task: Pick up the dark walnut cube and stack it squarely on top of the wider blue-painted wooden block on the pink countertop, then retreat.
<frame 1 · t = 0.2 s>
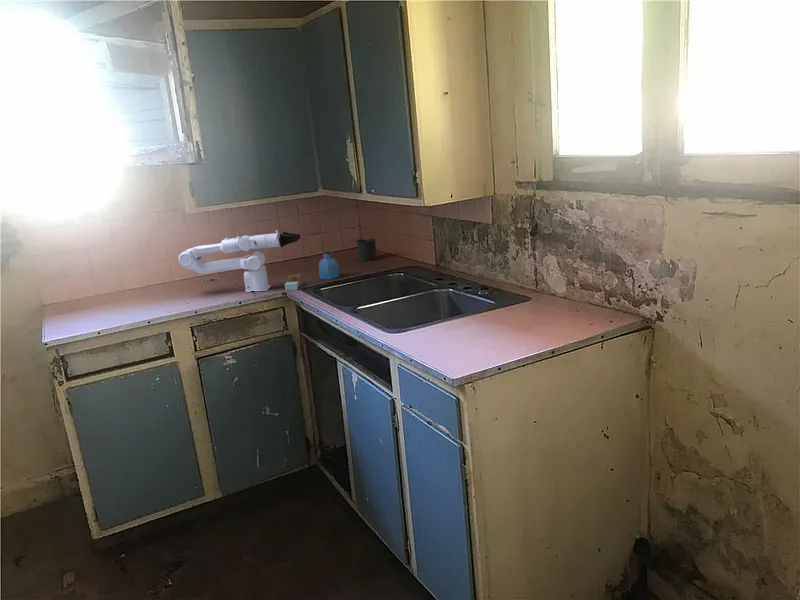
hand: (298, 237, 277), 21 cm above the worktop, tool horizontal, fingers open, 7 cm apart
pen holder: (367, 259, 327), on the worktop
blue block: (292, 289, 278), on the worktop
walnut cube: (295, 286, 284), on the worktop
perfume bottle: (329, 277, 295), on the worktop
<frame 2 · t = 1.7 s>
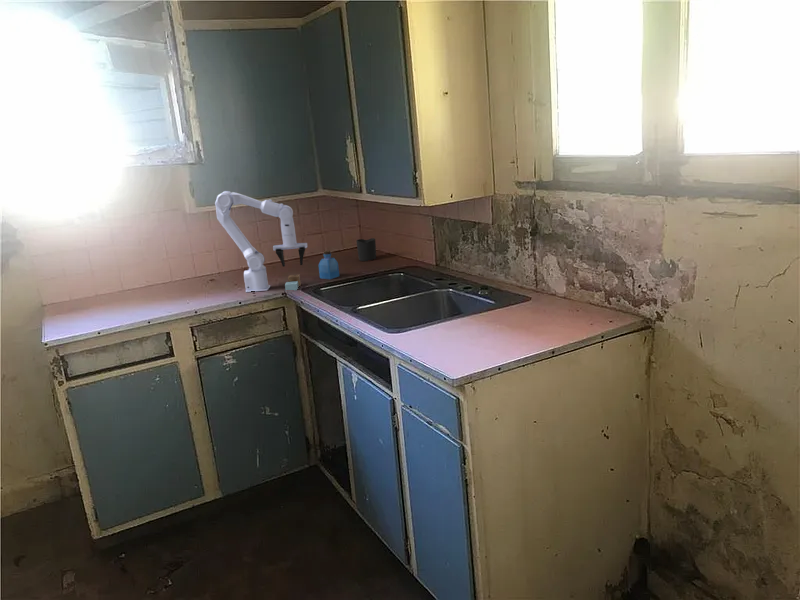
hand: (292, 265, 281), 9 cm above the worktop, tool pointing down, fingers open, 7 cm apart
nothing on the worktop moved.
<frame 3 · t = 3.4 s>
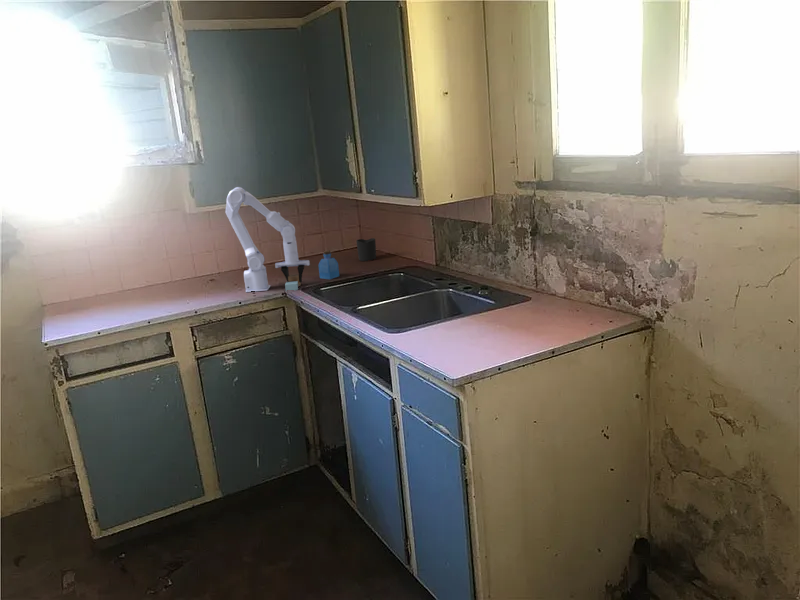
hand: (294, 282, 283), 1 cm above the worktop, tool pointing down, fingers closed on walnut cube, 4 cm apart
walnut cube: (295, 285, 284), on the worktop, touching gripper
everything else where it was.
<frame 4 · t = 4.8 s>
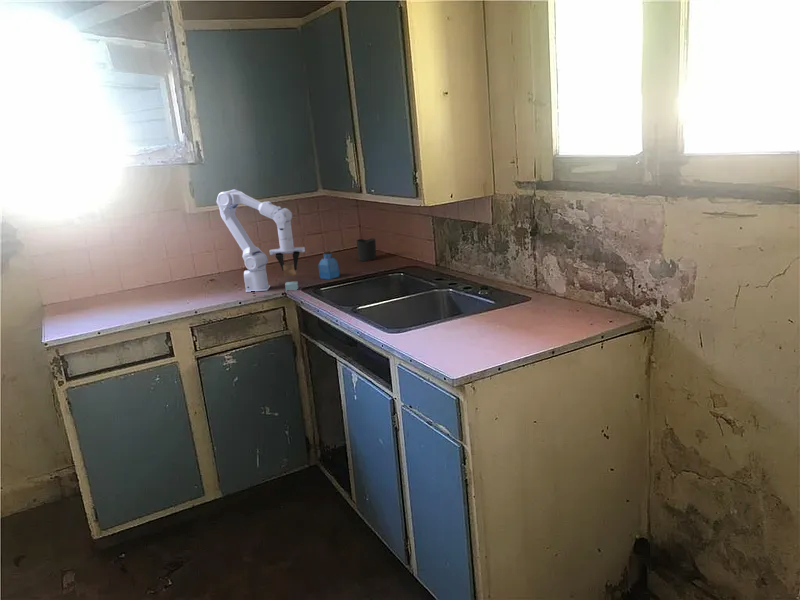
hand: (289, 270, 276), 8 cm above the worktop, tool pointing down, fingers closed on walnut cube, 4 cm apart
walnut cube: (290, 274, 277), point 6 cm above the worktop, touching gripper
everything else where it was.
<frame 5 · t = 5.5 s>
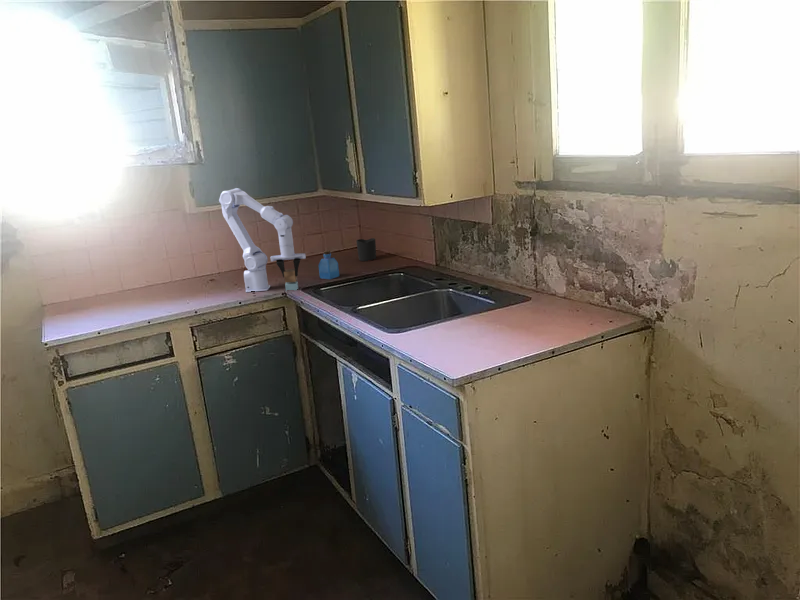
hand: (290, 276, 277), 6 cm above the worktop, tool pointing down, fingers closed on walnut cube, 4 cm apart
walnut cube: (291, 280, 277), point 4 cm above the worktop, touching gripper
everything else where it was.
when the fingers open (6 cm above the worktop, at t = 6.1 s): walnut cube stays where it is, point 3 cm above the worktop.
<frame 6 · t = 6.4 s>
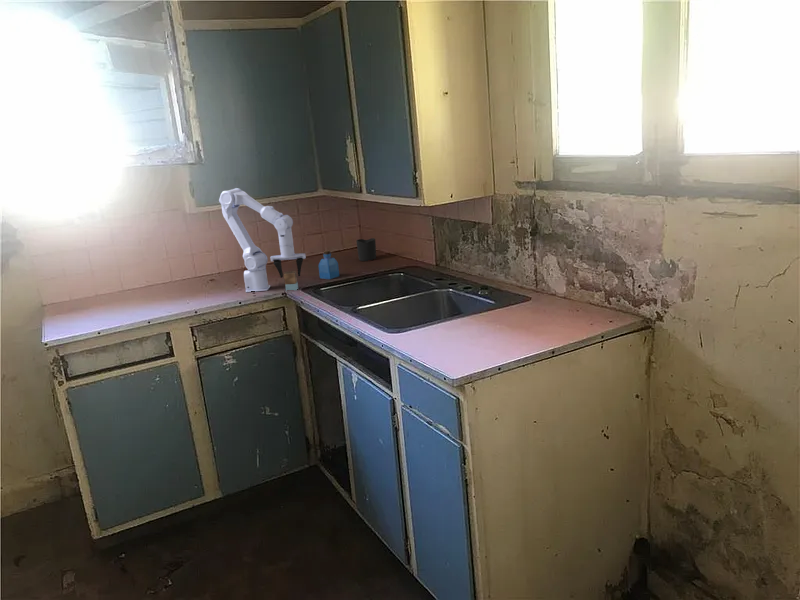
hand: (290, 276, 277), 6 cm above the worktop, tool pointing down, fingers open, 7 cm apart
walnut cube: (291, 282, 277), point 3 cm above the worktop
everything else where it was.
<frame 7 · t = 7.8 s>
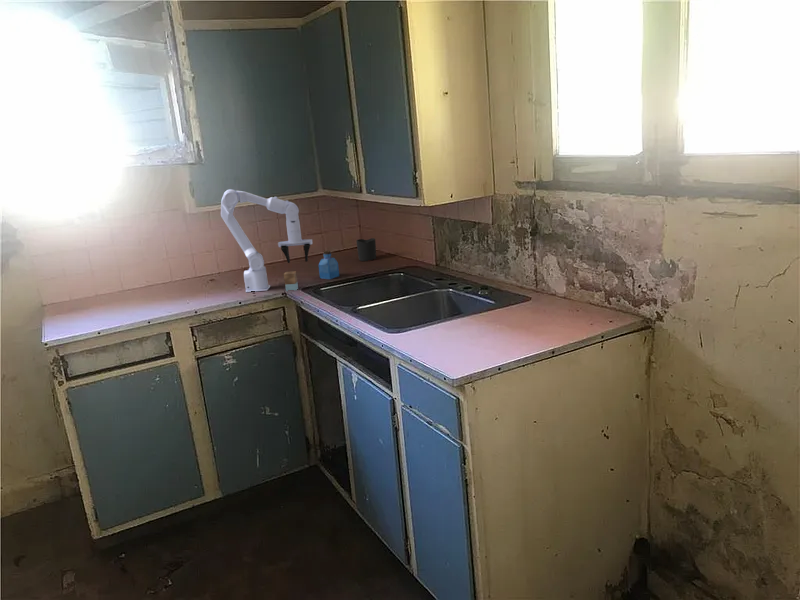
hand: (297, 261, 284), 10 cm above the worktop, tool pointing down, fingers open, 7 cm apart
nothing on the worktop moved.
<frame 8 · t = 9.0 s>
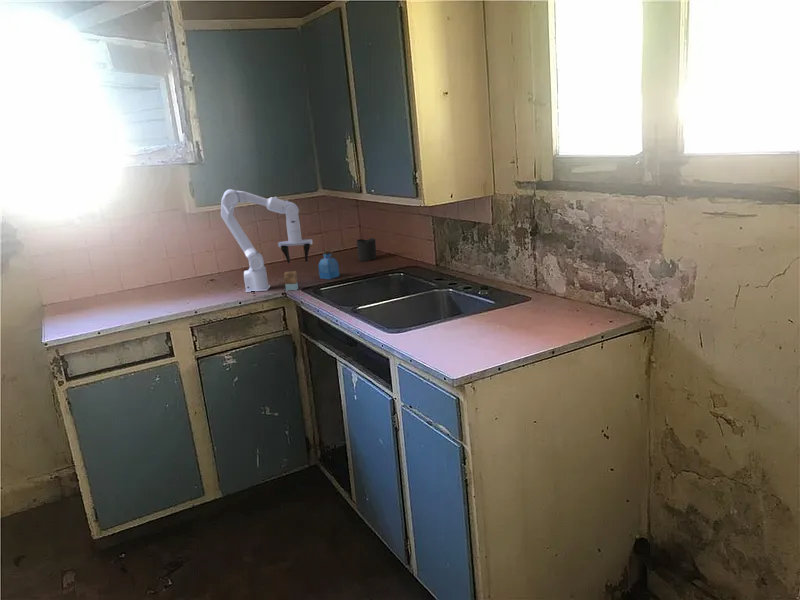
hand: (297, 261, 284), 10 cm above the worktop, tool pointing down, fingers open, 7 cm apart
blue block: (292, 289, 278), on the worktop, touching walnut cube
walnut cube: (291, 282, 277), point 3 cm above the worktop, touching blue block
everything else where it was.
at the end: walnut cube 0.3 cm off-centre on the blue block, point 3.0 cm above the blue block's base; walnut cube tilted 0°; blue block moved 0.3 cm from its start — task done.
